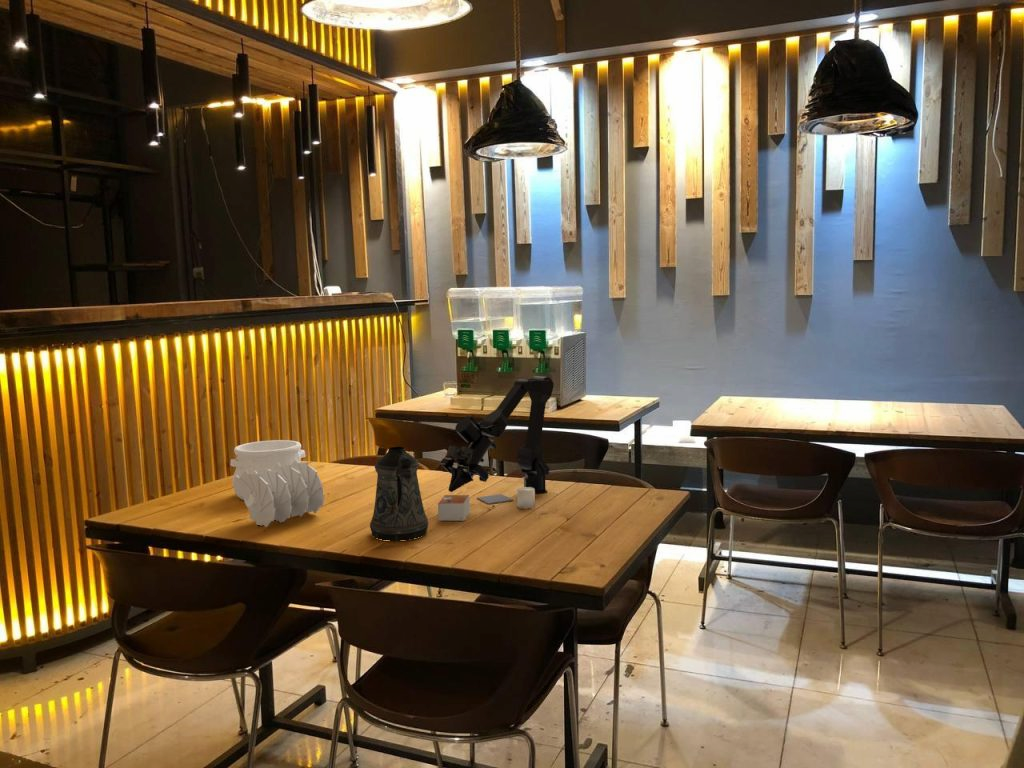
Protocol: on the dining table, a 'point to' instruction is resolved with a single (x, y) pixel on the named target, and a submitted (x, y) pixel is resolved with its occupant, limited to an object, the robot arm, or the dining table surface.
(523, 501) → the espresso cup
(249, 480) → the spiral staircase
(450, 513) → the small box
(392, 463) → the beer stein
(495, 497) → the slate coaster
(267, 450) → the pot
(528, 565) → the dining table surface
